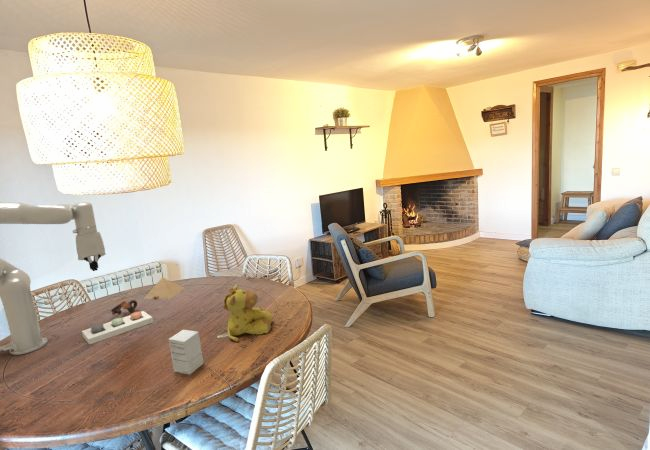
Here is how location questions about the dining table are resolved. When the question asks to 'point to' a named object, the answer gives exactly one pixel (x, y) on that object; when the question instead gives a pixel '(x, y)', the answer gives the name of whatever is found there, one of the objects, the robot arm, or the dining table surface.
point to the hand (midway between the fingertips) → (94, 270)
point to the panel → (116, 328)
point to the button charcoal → (97, 328)
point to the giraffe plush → (245, 314)
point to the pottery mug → (125, 307)
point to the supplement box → (186, 351)
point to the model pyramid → (164, 290)
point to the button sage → (117, 322)
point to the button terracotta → (136, 316)
